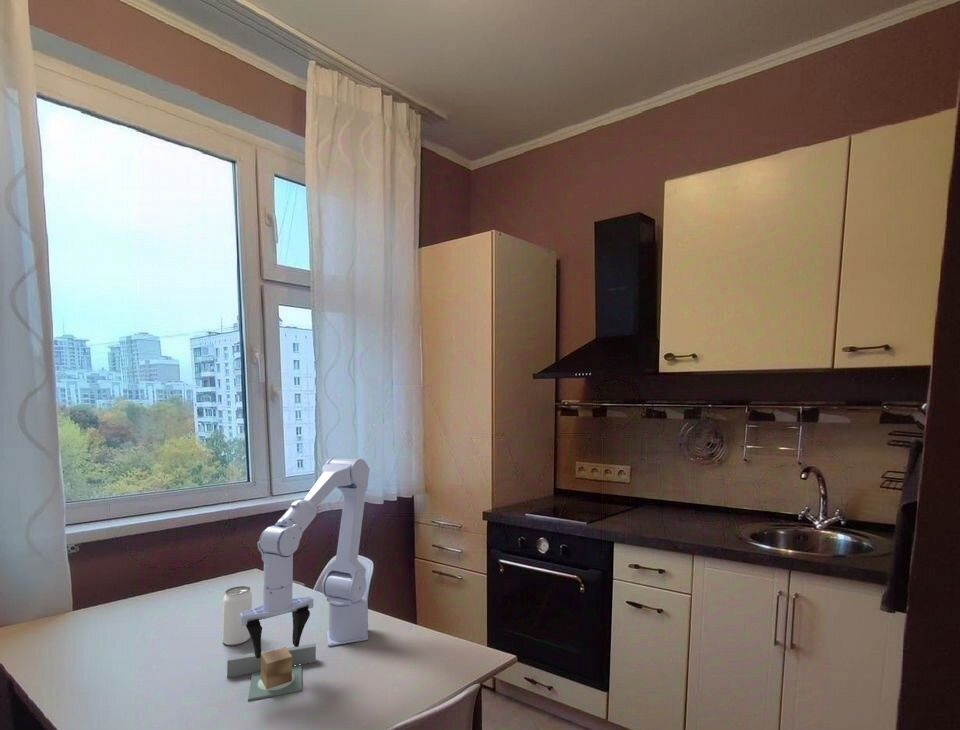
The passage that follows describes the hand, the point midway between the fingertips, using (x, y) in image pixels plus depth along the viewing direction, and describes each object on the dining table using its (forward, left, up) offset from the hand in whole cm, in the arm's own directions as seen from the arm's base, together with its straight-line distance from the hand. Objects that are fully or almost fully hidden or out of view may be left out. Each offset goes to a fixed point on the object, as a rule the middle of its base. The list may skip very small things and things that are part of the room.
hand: (277, 650), depth 106 cm
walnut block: (0, 0, -6) cm, 6 cm away
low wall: (+1, -6, -7) cm, 9 cm away
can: (+10, -24, -7) cm, 27 cm away
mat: (0, 0, -7) cm, 7 cm away
